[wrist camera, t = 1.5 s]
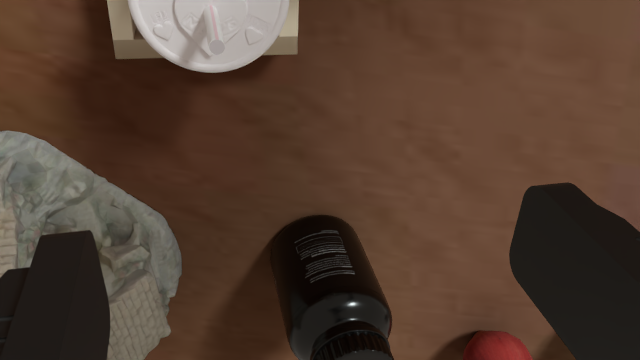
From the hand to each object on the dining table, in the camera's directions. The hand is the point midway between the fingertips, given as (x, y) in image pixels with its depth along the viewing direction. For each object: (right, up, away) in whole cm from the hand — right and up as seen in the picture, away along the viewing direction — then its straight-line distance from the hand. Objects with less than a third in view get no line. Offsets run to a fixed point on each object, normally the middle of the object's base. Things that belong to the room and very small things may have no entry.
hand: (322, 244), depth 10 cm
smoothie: (-6, +14, +20) cm, 25 cm away
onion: (+15, -13, +42) cm, 46 cm away
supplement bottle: (-1, -4, +32) cm, 32 cm away
